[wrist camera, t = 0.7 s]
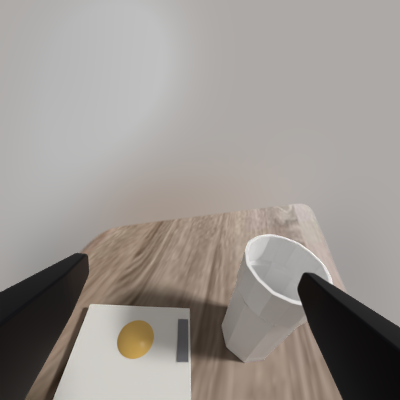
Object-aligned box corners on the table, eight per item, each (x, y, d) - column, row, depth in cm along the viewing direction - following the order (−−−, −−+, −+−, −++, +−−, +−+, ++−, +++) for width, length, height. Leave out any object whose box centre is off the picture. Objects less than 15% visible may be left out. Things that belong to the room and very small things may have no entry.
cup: (279, 384, 19) (346, 321, 13) (208, 357, 20) (241, 286, 14) (275, 314, 24) (321, 247, 18) (220, 295, 25) (247, 226, 19)
